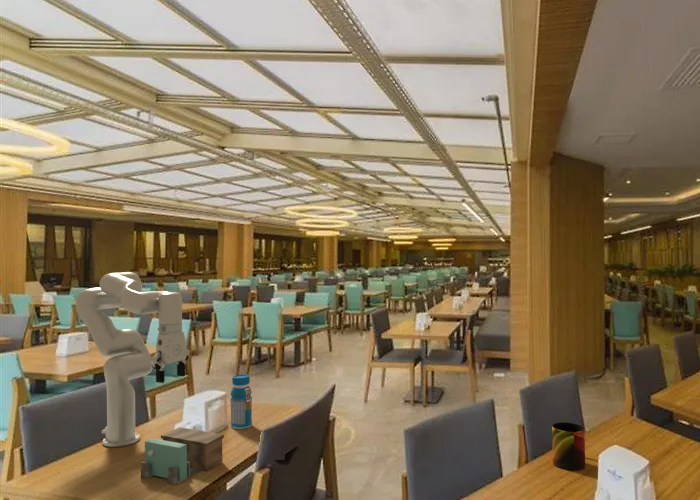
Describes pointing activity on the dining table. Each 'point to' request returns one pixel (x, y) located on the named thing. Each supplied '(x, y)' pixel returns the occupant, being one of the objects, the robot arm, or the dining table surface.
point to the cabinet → (192, 452)
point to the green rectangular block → (166, 457)
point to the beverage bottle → (241, 402)
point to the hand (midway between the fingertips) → (170, 379)
